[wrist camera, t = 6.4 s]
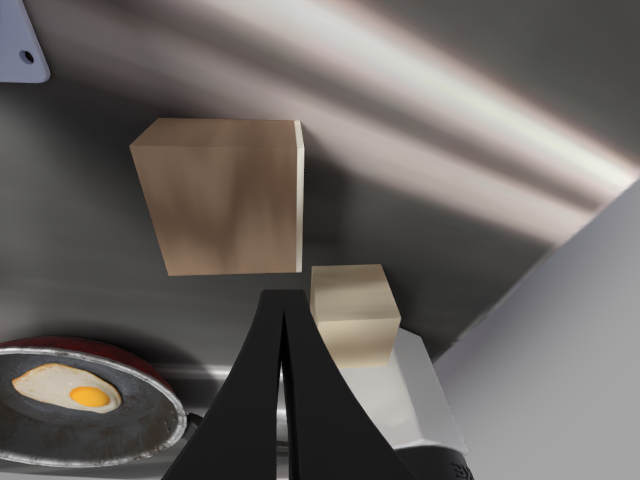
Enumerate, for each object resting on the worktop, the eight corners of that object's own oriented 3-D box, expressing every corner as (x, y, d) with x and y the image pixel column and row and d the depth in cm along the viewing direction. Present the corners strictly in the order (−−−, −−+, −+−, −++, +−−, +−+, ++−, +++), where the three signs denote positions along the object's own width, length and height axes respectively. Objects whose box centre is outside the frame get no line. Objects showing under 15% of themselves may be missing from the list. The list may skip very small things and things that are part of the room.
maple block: (311, 265, 23) (318, 321, 19) (380, 263, 23) (401, 317, 19) (309, 313, 26) (314, 370, 22) (370, 310, 26) (387, 365, 22)
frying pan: (-66, 279, 21) (-125, 327, 18) (353, 376, 32) (360, 415, 29) (-49, 418, 30) (-86, 465, 27) (273, 454, 41) (273, 490, 38)
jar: (403, 377, 33) (454, 532, 23) (324, 380, 32) (343, 545, 22) (430, 318, 28) (510, 488, 18) (336, 319, 26) (367, 501, 17)
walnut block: (299, 120, 17) (159, 117, 16) (304, 148, 14) (129, 145, 13) (298, 230, 21) (186, 232, 20) (301, 272, 18) (168, 275, 17)
